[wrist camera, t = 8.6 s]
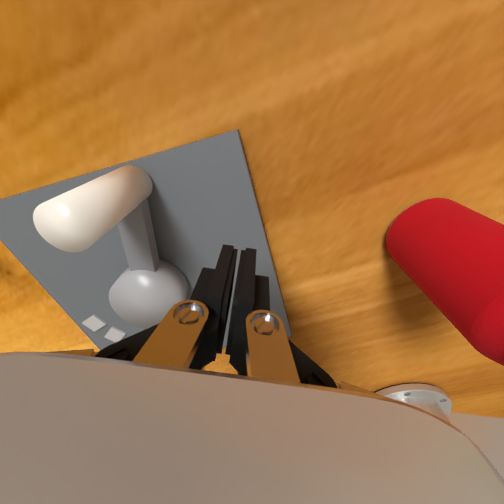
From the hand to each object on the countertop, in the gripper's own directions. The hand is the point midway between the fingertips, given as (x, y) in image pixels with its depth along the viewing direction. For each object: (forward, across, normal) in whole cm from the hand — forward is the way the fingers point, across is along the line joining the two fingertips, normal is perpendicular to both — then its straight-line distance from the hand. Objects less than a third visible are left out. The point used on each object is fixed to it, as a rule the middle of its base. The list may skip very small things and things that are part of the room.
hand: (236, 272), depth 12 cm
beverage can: (+10, -15, 0) cm, 18 cm away
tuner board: (+9, +8, +8) cm, 14 cm away
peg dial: (+8, +7, +8) cm, 14 cm away
